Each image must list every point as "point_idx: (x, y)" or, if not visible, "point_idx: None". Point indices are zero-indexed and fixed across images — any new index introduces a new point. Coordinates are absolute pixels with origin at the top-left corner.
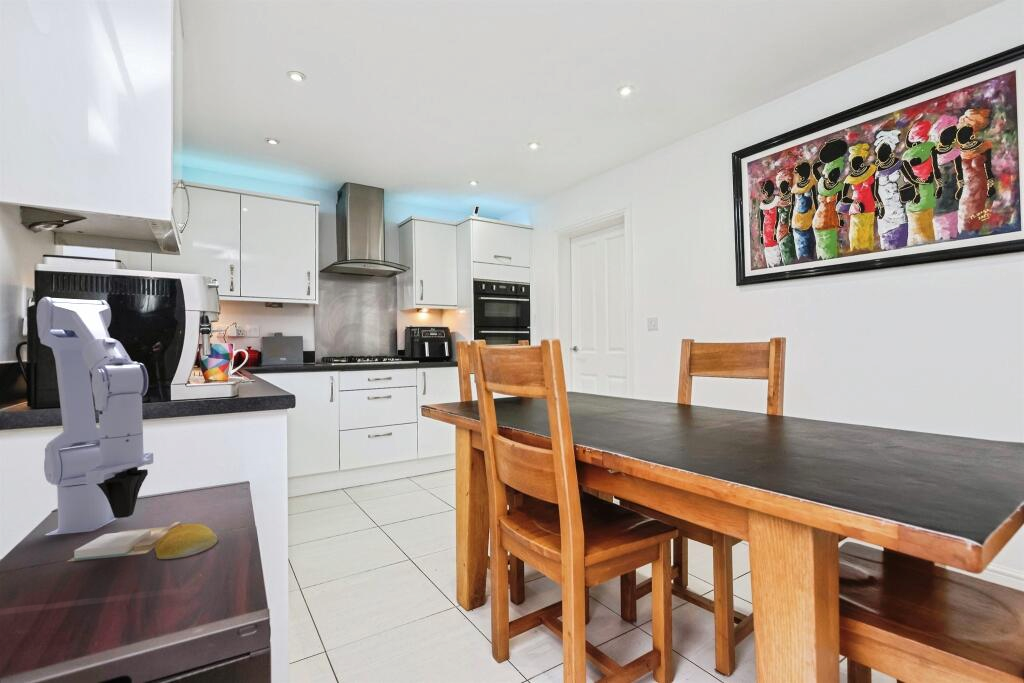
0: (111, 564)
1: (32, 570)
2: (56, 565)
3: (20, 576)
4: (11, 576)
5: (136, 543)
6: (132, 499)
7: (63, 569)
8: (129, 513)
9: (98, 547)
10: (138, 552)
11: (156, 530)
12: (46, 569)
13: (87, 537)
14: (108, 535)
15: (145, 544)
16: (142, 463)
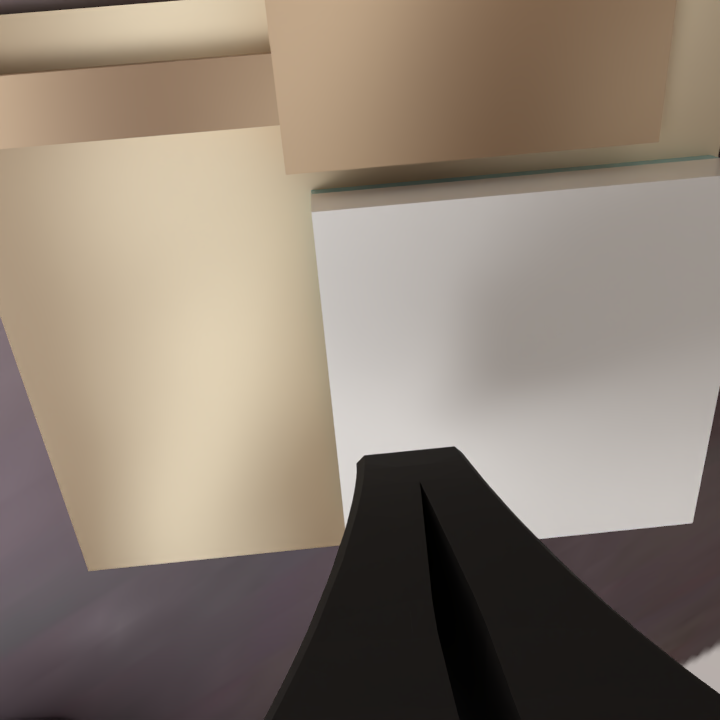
0: None
1: (644, 617)
2: (614, 552)
3: (716, 613)
4: (693, 652)
5: (555, 178)
6: (483, 572)
7: (710, 469)
8: (455, 461)
9: (706, 389)
10: (690, 61)
11: (89, 279)
12: (662, 561)
13: (135, 705)
14: None
15: (657, 34)
16: None
